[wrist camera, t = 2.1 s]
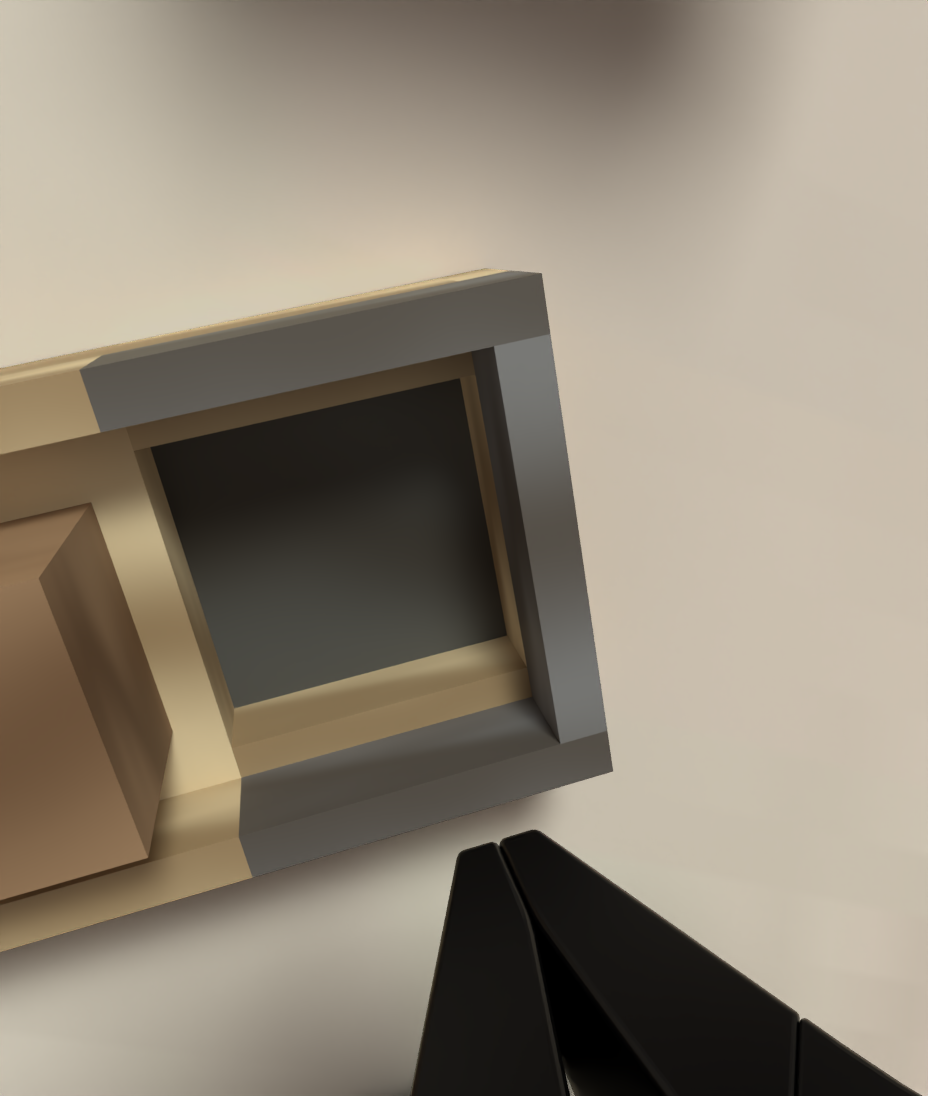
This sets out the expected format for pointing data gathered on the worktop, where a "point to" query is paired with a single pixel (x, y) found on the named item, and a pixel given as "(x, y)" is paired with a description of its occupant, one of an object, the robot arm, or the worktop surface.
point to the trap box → (325, 572)
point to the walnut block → (72, 708)
